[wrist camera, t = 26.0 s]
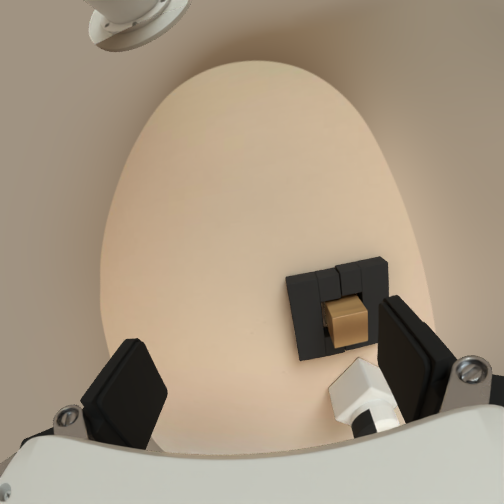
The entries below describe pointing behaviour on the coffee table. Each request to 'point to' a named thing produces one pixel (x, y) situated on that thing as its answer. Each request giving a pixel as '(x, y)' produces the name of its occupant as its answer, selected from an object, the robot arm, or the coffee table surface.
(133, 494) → the robot arm
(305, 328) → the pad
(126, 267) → the coffee table surface
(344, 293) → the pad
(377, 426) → the medicine bottle
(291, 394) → the coffee table surface
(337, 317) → the key
